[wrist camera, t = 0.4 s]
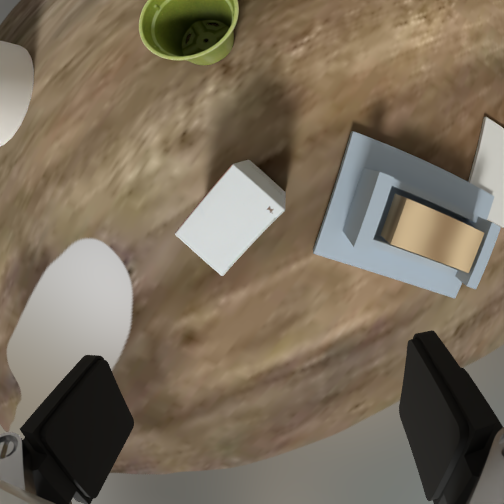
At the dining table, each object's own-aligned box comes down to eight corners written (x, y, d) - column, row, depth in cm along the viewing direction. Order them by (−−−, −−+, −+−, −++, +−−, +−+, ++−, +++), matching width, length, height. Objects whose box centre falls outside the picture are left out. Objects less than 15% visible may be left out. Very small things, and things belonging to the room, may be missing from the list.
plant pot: (258, 14, 29) (250, -21, 21) (236, 86, 32) (221, 66, 24) (182, 5, 29) (156, -26, 21) (159, 73, 32) (126, 55, 24)
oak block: (380, 234, 31) (390, 244, 28) (394, 193, 30) (407, 198, 27) (454, 262, 31) (468, 273, 28) (468, 225, 30) (484, 232, 26)
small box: (248, 158, 34) (234, 160, 24) (287, 192, 35) (287, 208, 25) (202, 211, 37) (171, 234, 27) (238, 244, 37) (221, 278, 27)
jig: (312, 250, 37) (319, 274, 30) (351, 132, 32) (367, 126, 25) (451, 294, 36) (477, 321, 29) (489, 194, 32) (524, 205, 25)
